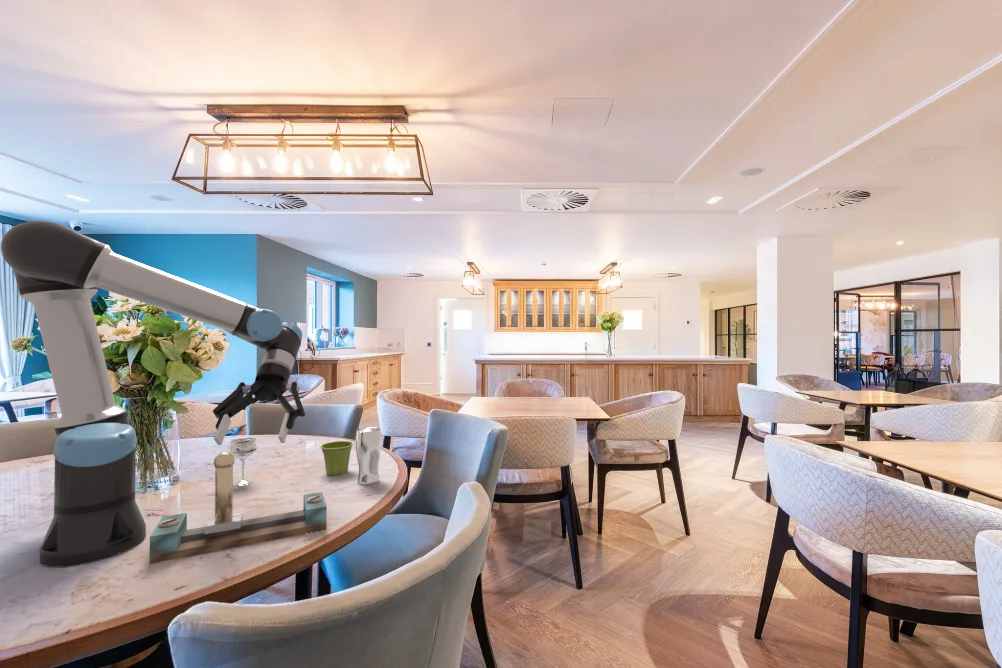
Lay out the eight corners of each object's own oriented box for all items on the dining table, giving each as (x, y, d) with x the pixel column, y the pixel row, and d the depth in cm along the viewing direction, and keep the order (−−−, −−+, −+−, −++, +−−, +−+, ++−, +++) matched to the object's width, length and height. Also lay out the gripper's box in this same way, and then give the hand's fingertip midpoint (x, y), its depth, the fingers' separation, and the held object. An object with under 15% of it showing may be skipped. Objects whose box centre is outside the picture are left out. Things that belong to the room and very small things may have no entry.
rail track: (149, 564, 78) (149, 533, 78) (162, 541, 86) (162, 513, 86) (326, 529, 92) (326, 503, 92) (322, 513, 100) (322, 489, 100)
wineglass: (226, 482, 122) (227, 440, 122) (253, 477, 127) (253, 436, 127) (231, 488, 117) (232, 444, 117) (259, 482, 122) (259, 440, 122)
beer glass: (365, 487, 118) (365, 433, 118) (350, 482, 122) (351, 429, 122) (386, 480, 124) (386, 428, 124) (371, 476, 128) (371, 426, 128)
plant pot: (338, 479, 125) (338, 449, 125) (313, 475, 128) (313, 446, 128) (359, 470, 134) (359, 442, 134) (335, 467, 137) (335, 439, 137)
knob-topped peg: (204, 535, 83) (205, 456, 83) (208, 524, 88) (208, 450, 88) (240, 528, 86) (240, 452, 86) (242, 518, 91) (242, 446, 91)
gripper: (327, 379, 117) (310, 447, 102) (229, 380, 113) (196, 451, 98) (322, 361, 112) (303, 430, 97) (219, 361, 108) (183, 433, 93)
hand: (249, 441), depth 97 cm, fingers open, 13 cm apart
